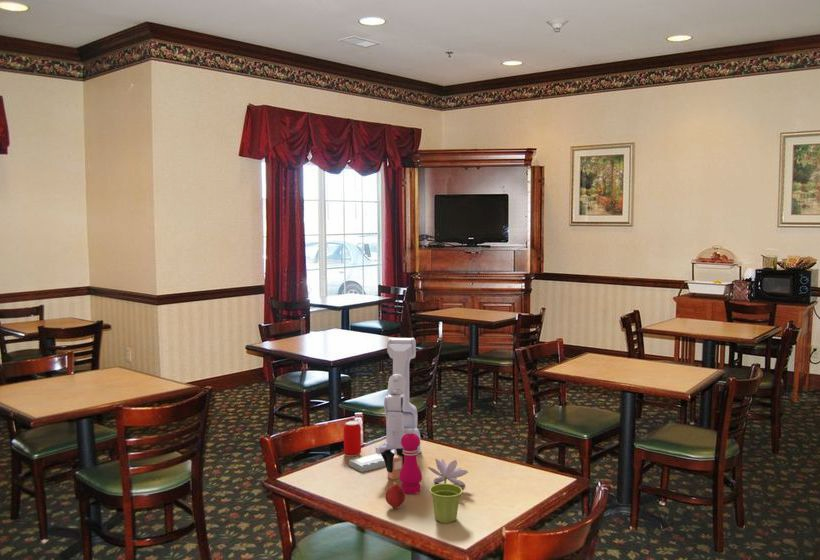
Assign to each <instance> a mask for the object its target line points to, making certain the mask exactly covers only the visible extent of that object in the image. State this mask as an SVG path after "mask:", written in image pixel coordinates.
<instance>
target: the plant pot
mask: <svg viewBox="0 0 820 560" xmlns="http://www.w3.org/2000/svg"><path fill="white" fill-rule="evenodd" d="M429 492H430V494H431V497H432V504H433V511H434V519H435V521H439V522H440V523H442V524H450V523H453V522H456V521H457V518H458V517H457V516H458V510H459V503H460V498H461V495H462V494H463V489H462V487H460V485H458V484H454V483H453V484H452V483H446V484H444V483H437V484H434V485H432V486H430V488H429Z"/></svg>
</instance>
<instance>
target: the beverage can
mask: <svg viewBox="0 0 820 560" xmlns="http://www.w3.org/2000/svg"><path fill="white" fill-rule="evenodd" d="M361 427H362V426H361V425H360V423H359V422H358V421H355V420H352V421H351V420H350V421H347V422H345V424H344V426H343V454H344V456H347V457H349V456H350V457H351V458H353V457H354V456H355V457H357V456H359V455H360V454H361V453H362V438H361V437H362V432H361V431H362V430H361V429H362V428H361ZM355 457H354V458H355Z"/></svg>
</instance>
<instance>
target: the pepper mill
mask: <svg viewBox="0 0 820 560" xmlns="http://www.w3.org/2000/svg"><path fill="white" fill-rule="evenodd" d="M401 445H402V447H403V454H404V464H403V467H402V469H401V471H400V475H399V478H398V479H399V481H400V482H401V484H400V487H401V488H402V489H403V490H404V493H405V495H416V494H419V493H420V492H421V482H422V479H423V474H422V470H421V469H420V466H419V463H418V454H419V453H418V446H419V445H420V446H421V438H420V439H419V437H418V436H417V435H416V434H414V433H413V430H412V429H408V433H407V434H405V435H404V436H403V437H402V439H401Z"/></svg>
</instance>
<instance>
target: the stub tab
mask: <svg viewBox="0 0 820 560" xmlns="http://www.w3.org/2000/svg"><path fill="white" fill-rule="evenodd" d="M402 467H403V459H402V456H400V455H398V454H396V455H394V458H393V471H392V473H390V472H388V471H387V478H389V479H390V480H393V481H394V480H397V479H399V475H400V471H401V469H402Z"/></svg>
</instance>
